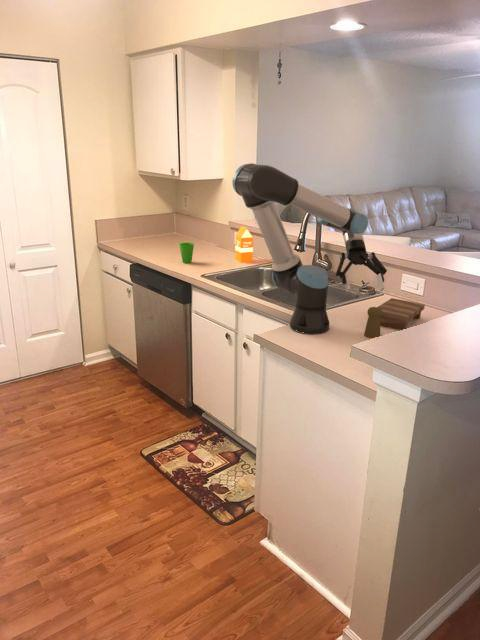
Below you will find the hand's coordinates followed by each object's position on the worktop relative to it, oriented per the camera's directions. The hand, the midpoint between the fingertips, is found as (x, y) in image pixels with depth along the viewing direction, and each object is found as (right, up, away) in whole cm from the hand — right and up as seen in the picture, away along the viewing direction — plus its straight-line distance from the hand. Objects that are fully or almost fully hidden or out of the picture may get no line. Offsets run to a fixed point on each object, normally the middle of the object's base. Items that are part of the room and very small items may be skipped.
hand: (365, 290), depth 197 cm
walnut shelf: (+16, -12, +11) cm, 22 cm away
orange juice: (-46, +24, +110) cm, 122 cm away
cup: (-79, +22, +103) cm, 132 cm away
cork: (+1, -17, -5) cm, 18 cm away
